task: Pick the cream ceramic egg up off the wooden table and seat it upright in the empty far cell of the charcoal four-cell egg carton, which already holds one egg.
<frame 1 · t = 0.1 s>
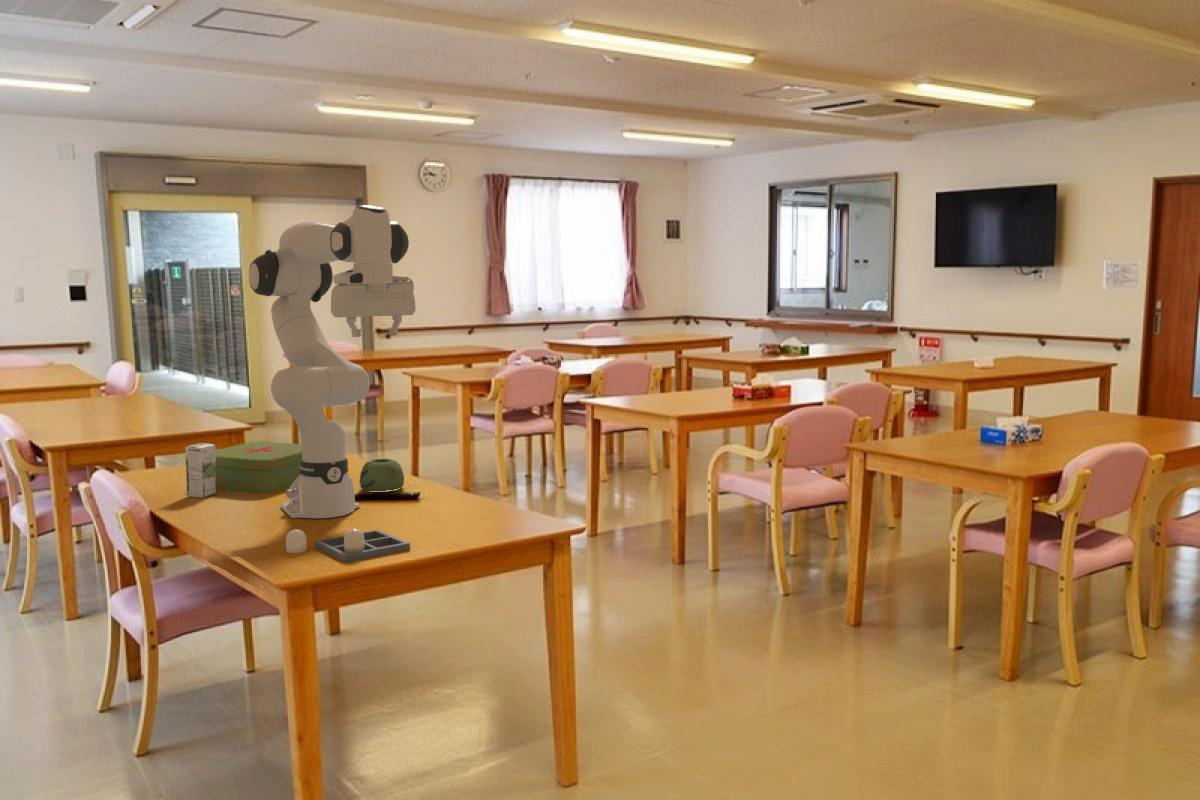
hand: (375, 336, 235), 48 cm above the table, fingers open, 8 cm apart
carton: (362, 552, 226), on the table
syrup box: (202, 496, 285), on the table
egg: (296, 554, 225), on the table
resting egg: (354, 554, 221), point 1 cm above the table, touching carton
first aid kit: (262, 483, 303), on the table
green pot: (385, 491, 291), on the table
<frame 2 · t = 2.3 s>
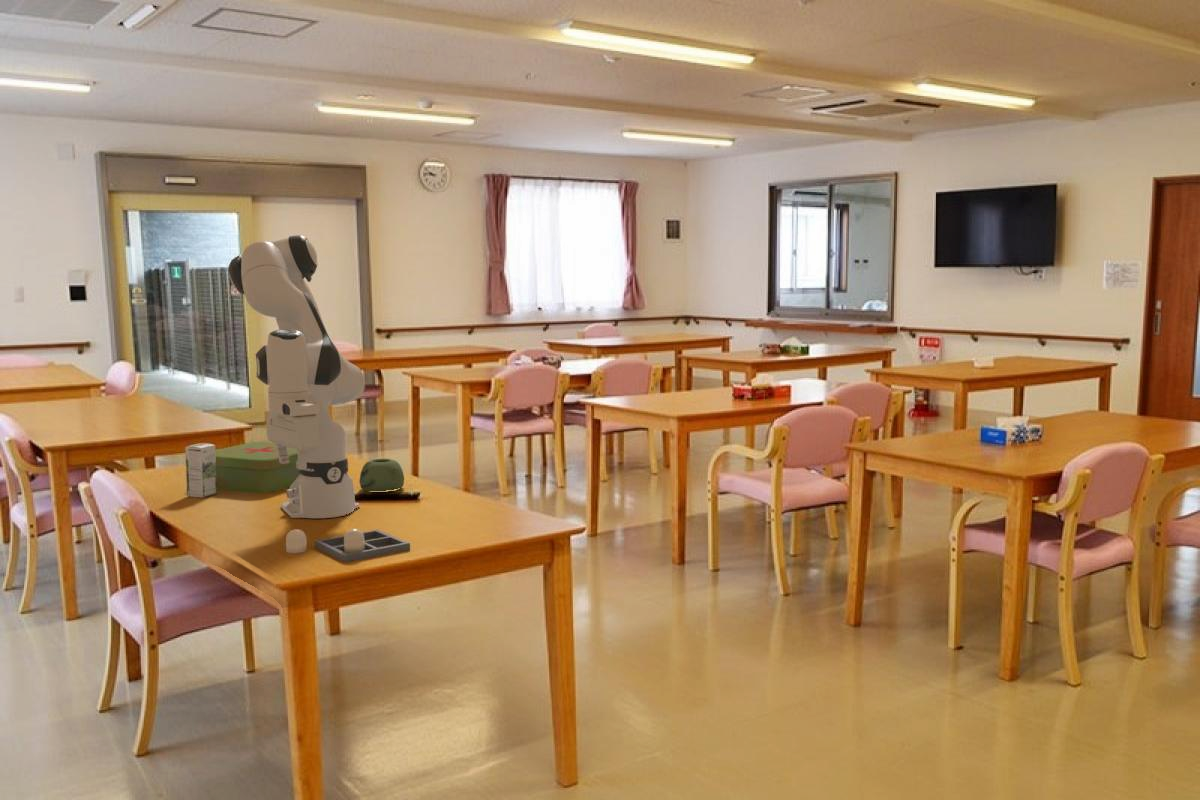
hand: (292, 466, 222), 20 cm above the table, fingers open, 8 cm apart
nothing on the table moved.
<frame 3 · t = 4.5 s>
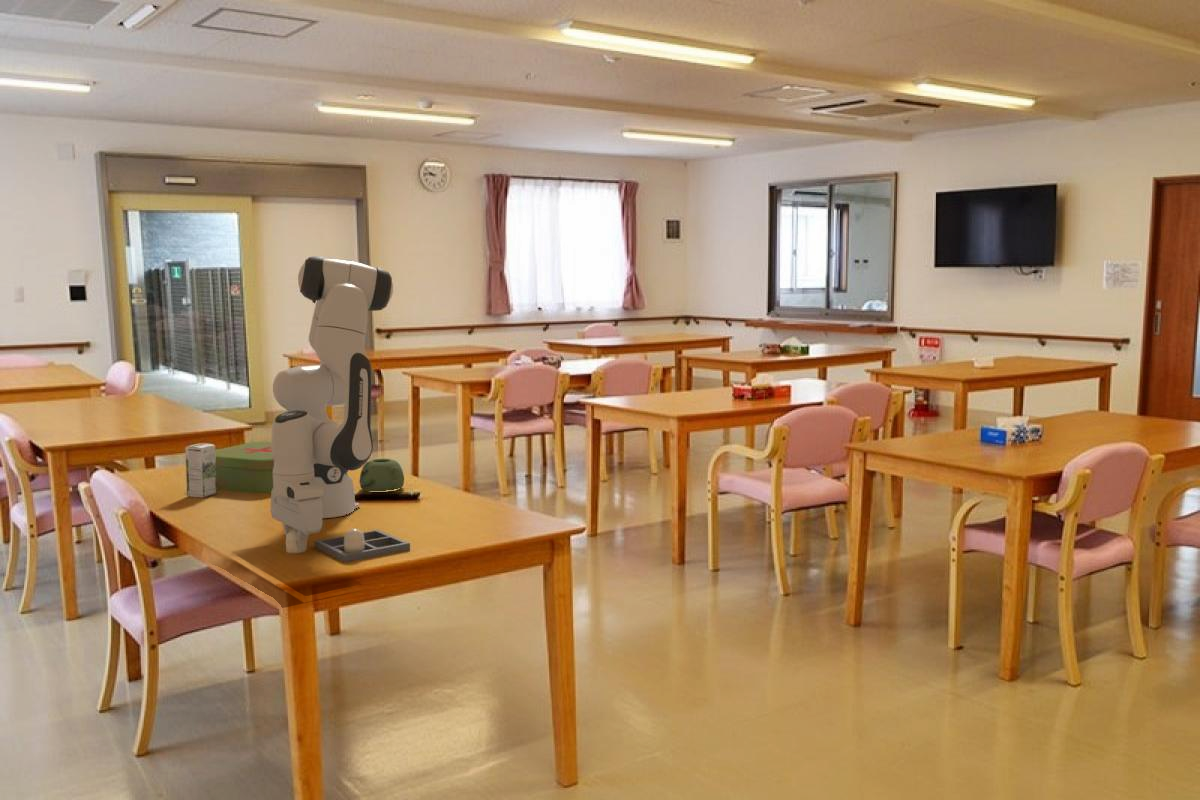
hand: (296, 545, 225), 2 cm above the table, fingers closed on egg, 4 cm apart
egg: (296, 554, 225), on the table, touching gripper
everything else where it was.
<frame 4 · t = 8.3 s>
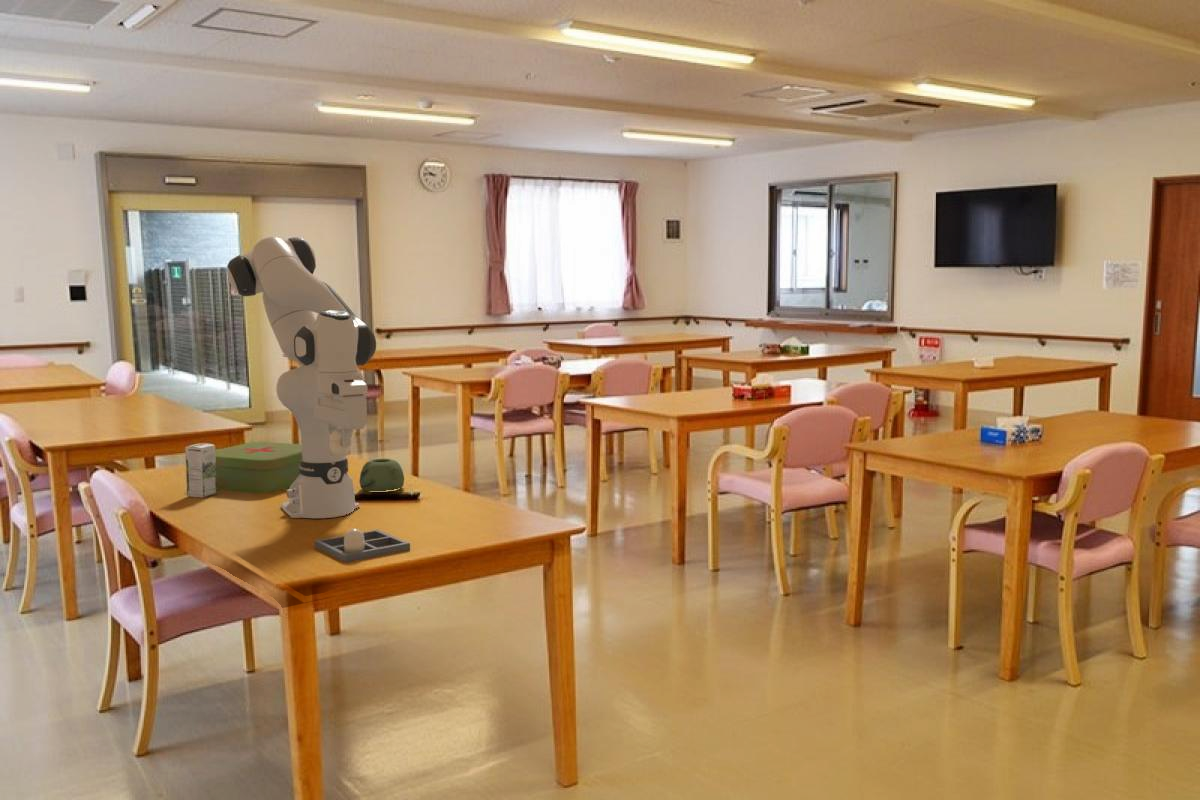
hand: (340, 444, 226), 24 cm above the table, fingers closed on egg, 4 cm apart
egg: (340, 454, 226), point 22 cm above the table, touching gripper
everything else where it was.
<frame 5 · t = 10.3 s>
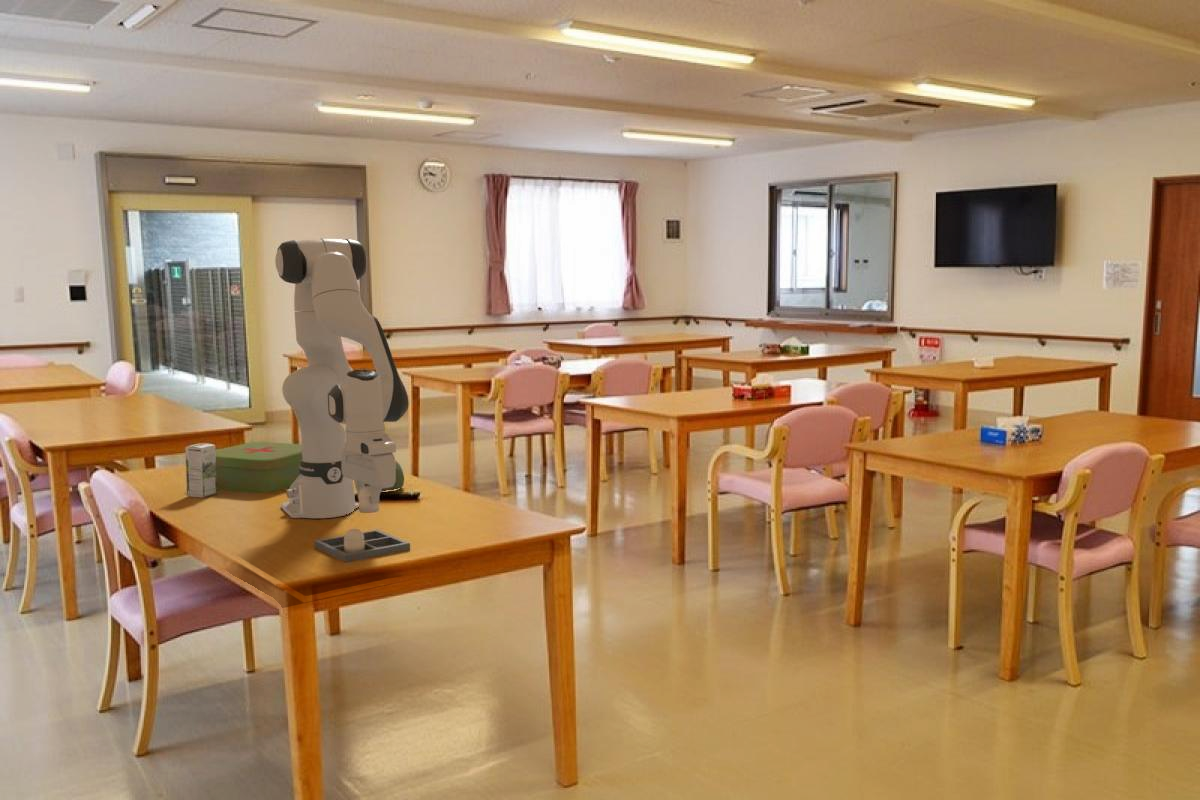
hand: (368, 501, 230), 11 cm above the table, fingers closed on egg, 4 cm apart
egg: (369, 510, 230), point 8 cm above the table, touching gripper
everything else where it was.
when the fingers open (4 cm above the table, at t = 12.1 s): egg stays where it is, resting on carton.
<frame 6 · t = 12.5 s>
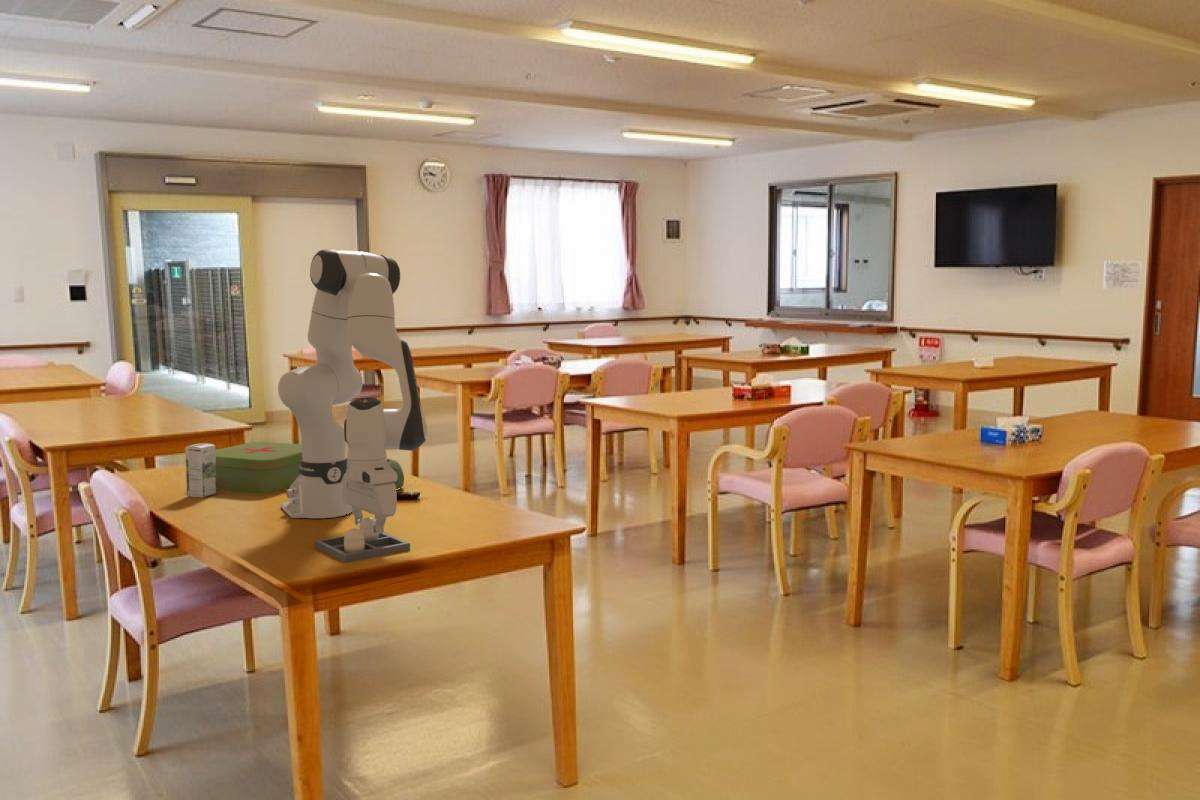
hand: (369, 529, 231), 4 cm above the table, fingers open, 8 cm apart
egg: (369, 542, 232), point 1 cm above the table, touching carton
everything else where it was.
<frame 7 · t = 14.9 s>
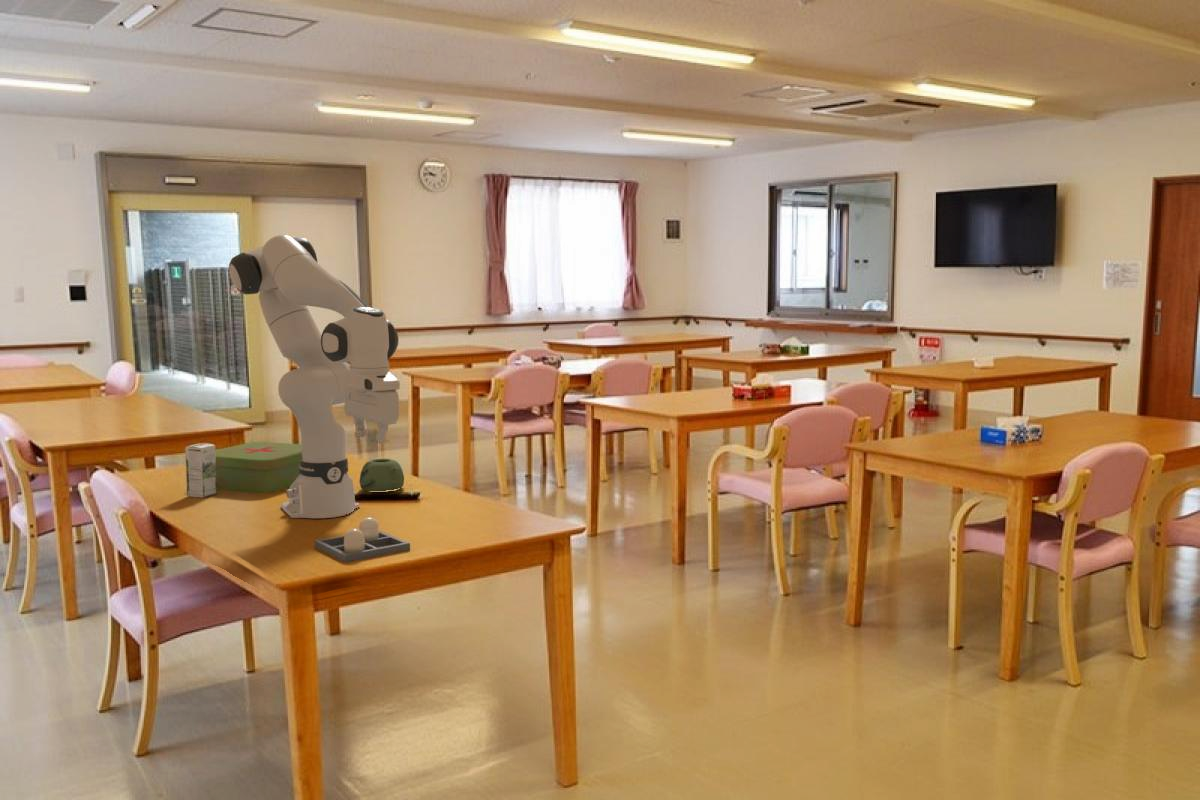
hand: (370, 439, 230), 25 cm above the table, fingers open, 8 cm apart
nothing on the table moved.
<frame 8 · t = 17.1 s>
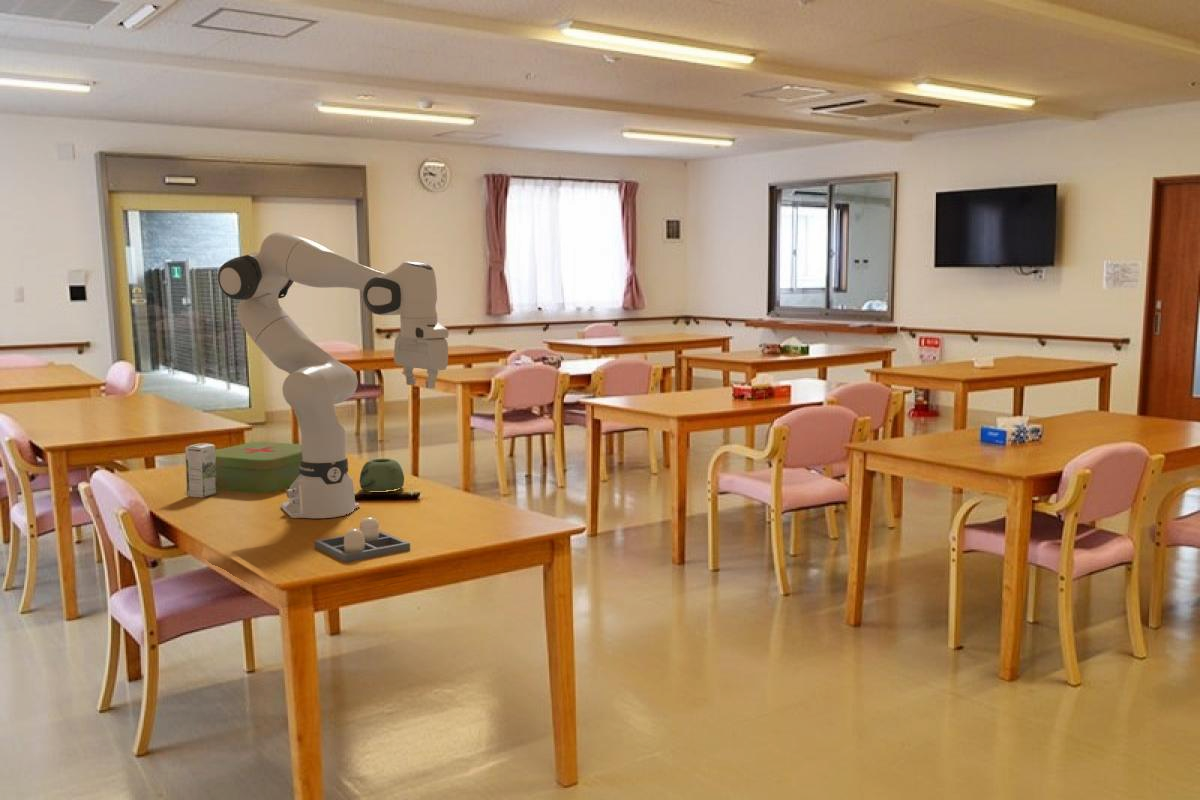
hand: (420, 386, 244), 35 cm above the table, fingers open, 8 cm apart
nothing on the table moved.
at the end: egg 0.1 cm from the target spot on the carton, point 1.0 cm above the carton's base; egg tilted 1°; the gripper is holding nothing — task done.
